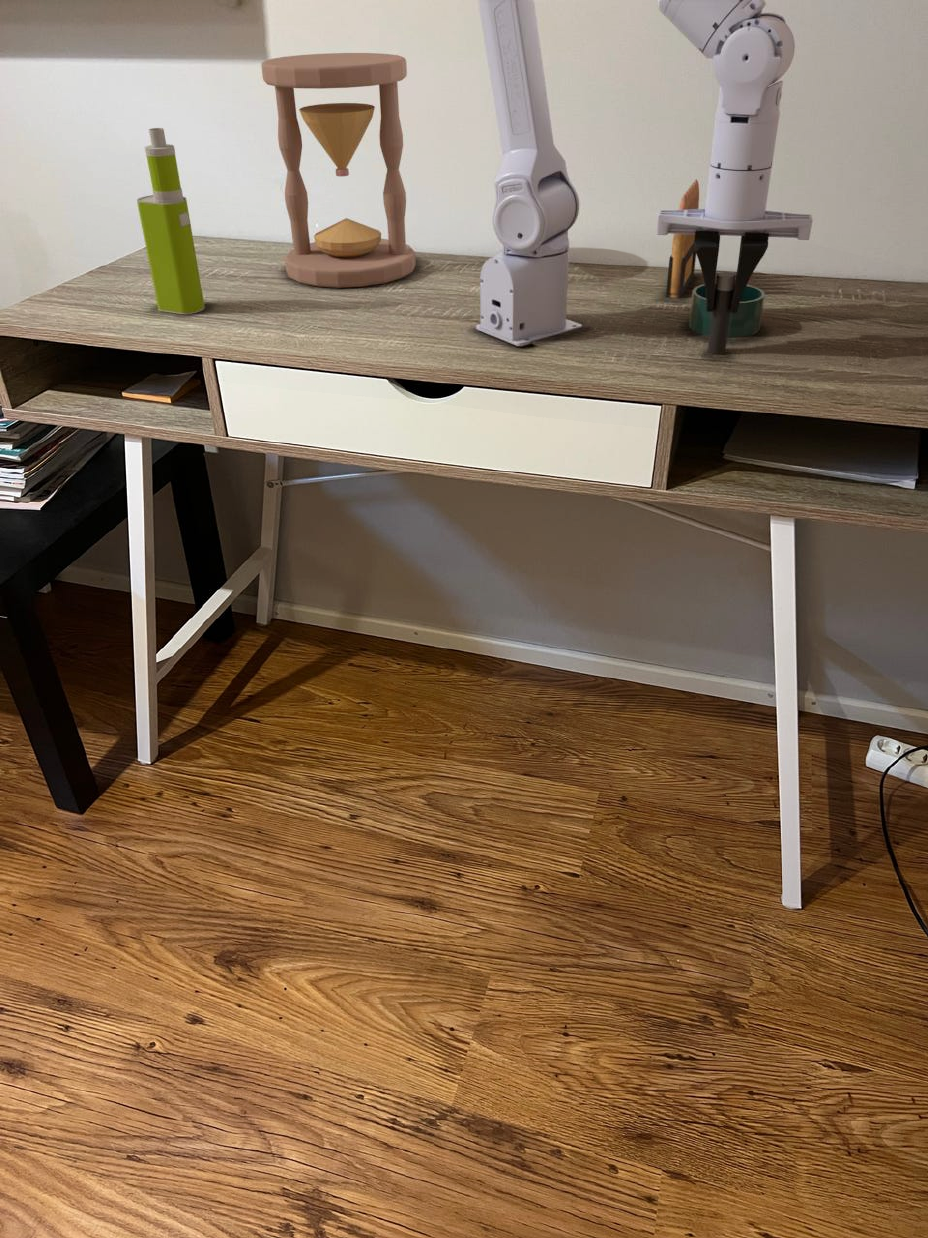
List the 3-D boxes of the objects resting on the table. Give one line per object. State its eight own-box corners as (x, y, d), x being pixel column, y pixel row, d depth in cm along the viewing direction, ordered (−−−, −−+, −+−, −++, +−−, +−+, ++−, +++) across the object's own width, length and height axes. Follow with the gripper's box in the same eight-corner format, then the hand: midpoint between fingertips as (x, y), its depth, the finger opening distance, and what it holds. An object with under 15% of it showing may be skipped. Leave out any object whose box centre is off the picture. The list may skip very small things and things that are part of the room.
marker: (716, 358, 102) (727, 277, 97) (703, 353, 103) (713, 274, 98) (728, 354, 102) (739, 274, 98) (715, 349, 104) (725, 270, 99)
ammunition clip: (680, 301, 118) (691, 196, 111) (664, 300, 119) (675, 195, 112) (693, 277, 126) (705, 178, 120) (679, 276, 127) (689, 177, 120)
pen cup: (745, 346, 105) (750, 306, 103) (677, 334, 109) (681, 296, 106) (768, 325, 110) (774, 288, 108) (703, 315, 114) (707, 278, 111)
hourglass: (263, 283, 128) (234, 65, 114) (318, 249, 142) (298, 51, 128) (389, 292, 124) (375, 67, 109) (432, 256, 137) (425, 52, 123)
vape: (191, 315, 118) (159, 132, 106) (153, 309, 120) (116, 129, 108) (211, 306, 120) (181, 127, 109) (172, 301, 122) (139, 124, 111)
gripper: (818, 158, 94) (793, 300, 102) (665, 156, 97) (653, 294, 105) (823, 173, 88) (796, 322, 96) (661, 169, 91) (648, 314, 99)
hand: (722, 309), depth 100 cm, fingers closed on marker, 2 cm apart
